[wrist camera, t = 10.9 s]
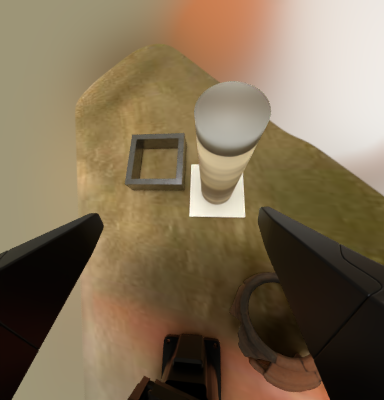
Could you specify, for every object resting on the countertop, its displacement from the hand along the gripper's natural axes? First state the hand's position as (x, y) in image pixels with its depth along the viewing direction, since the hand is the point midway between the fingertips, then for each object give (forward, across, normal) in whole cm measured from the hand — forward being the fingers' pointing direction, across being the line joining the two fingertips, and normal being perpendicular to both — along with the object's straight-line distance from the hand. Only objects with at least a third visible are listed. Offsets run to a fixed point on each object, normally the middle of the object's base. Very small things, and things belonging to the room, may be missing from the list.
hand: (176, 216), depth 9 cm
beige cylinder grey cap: (+13, -3, +5) cm, 15 cm away
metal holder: (+17, +5, +2) cm, 18 cm away
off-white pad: (+14, -3, +5) cm, 15 cm away
